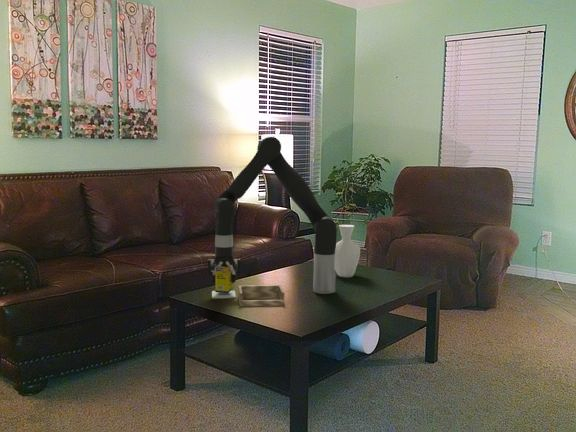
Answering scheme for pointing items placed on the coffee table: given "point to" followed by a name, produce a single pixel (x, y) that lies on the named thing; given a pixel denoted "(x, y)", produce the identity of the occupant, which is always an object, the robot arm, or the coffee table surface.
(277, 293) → the crate
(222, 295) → the pad
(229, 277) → the supplement box
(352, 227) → the vase
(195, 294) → the coffee table surface
